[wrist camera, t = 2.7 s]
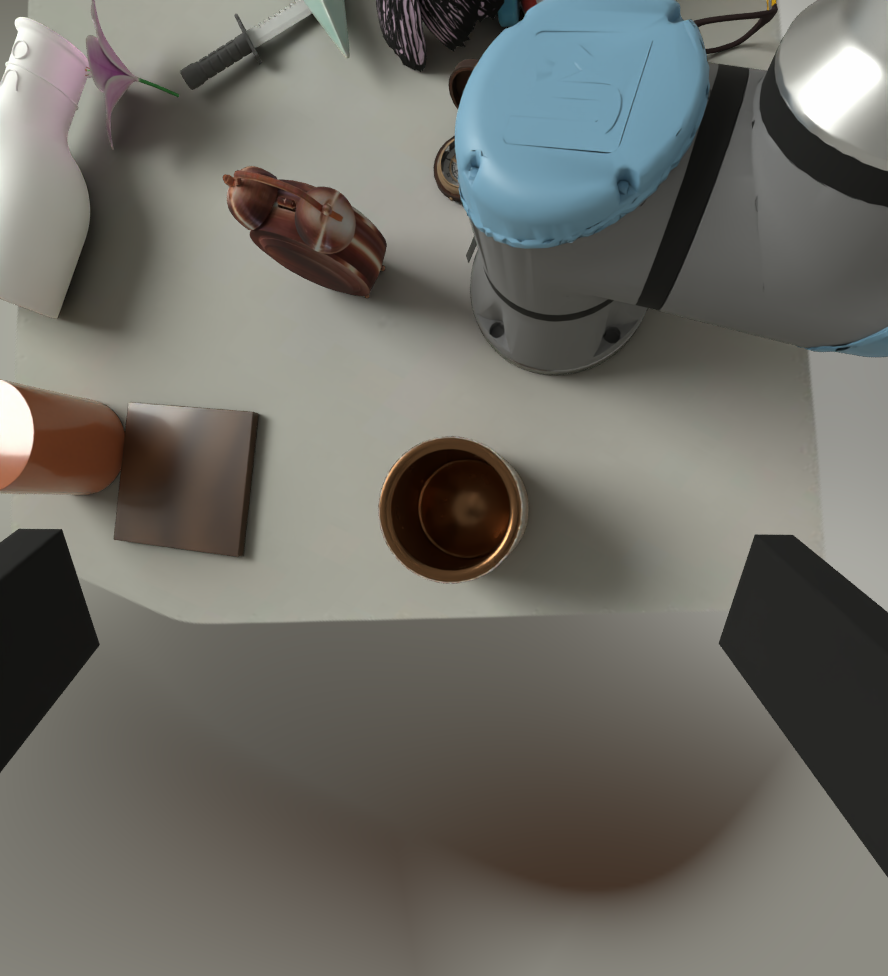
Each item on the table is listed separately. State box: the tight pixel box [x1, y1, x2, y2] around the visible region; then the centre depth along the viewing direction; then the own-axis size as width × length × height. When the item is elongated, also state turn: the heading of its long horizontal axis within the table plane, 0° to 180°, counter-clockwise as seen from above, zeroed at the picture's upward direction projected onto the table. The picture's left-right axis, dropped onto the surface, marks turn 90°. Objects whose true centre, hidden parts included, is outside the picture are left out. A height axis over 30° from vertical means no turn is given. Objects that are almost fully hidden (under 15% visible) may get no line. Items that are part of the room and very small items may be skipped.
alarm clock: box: [223, 166, 387, 298], centre depth 43 cm, size 11×5×15 cm, turn 68°
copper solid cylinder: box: [0, 379, 125, 495], centre depth 51 cm, size 10×10×10 cm
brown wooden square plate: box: [114, 402, 259, 557], centre depth 53 cm, size 14×14×1 cm
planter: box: [378, 436, 529, 584], centre depth 43 cm, size 11×11×10 cm
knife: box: [180, 0, 312, 90], centre depth 52 cm, size 19×2×5 cm
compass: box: [434, 59, 479, 202], centre depth 45 cm, size 8×8×7 cm
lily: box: [85, 0, 179, 149], centre depth 51 cm, size 12×12×10 cm
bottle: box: [0, 17, 92, 319], centre depth 52 cm, size 17×25×8 cm
